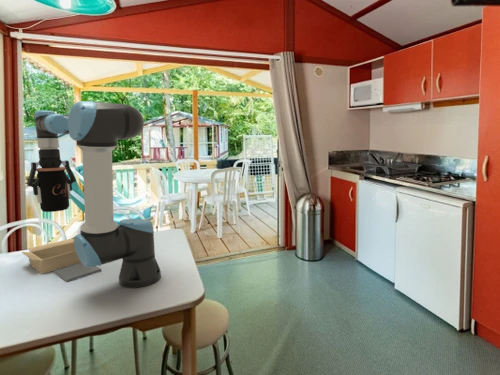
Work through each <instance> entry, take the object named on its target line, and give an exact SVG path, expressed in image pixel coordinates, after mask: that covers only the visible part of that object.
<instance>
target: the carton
mask: <svg viewBox="0 0 500 375" xmlns="http://www.w3.org/2000/svg"><path fill="white" fill-rule="evenodd" d="M21 253H22V254H23V255H25V256H26V257H27V258H28V262H29V263H28V264H29V265H30V266H31V267H33V268H34V269H35V270H37V271H38V272H39V273H40V274H46V273H49V272H51V271H52V272H54V271H56V270H59V269H63V268H66V267H70V266H73V265H77V264H80V263H82V262H81V261H80V259H79V257H78V255H77V253H76V250H75V246H74V238H69V239H64V240H60V241H56V242H55V241H54V242H51V243H46V244H42V245H39V246H34V247H29V248H28V251H27V252H25V251H21Z"/></svg>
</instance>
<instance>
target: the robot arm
mask: <svg viewBox="0 0 500 375" xmlns="http://www.w3.org/2000/svg"><path fill="white" fill-rule="evenodd" d="M144 120H145V119H144V117H143V115H142V113H141V112H140V111H139V110H138V109H137V108H136V107H134V106H132V105H130V104H125V103H114V102H101V101H93V100H87V101H86V100H85V101H83V100H82V101H81V100H80V101H77V102H75V103H74V104H73V105H72V107H71V109H70V110H69V113H68V114H62V113H56V112H55V111H54V110H53V111H52V110H35V112H34V124H35V131H36V132H35V133H36V139H37V140H36V141H37V148H39V149H38V158H39V160H38V161H37V162H34V161H33V162H30V172H29V174H28V175H29V176H28V179H27V184H26V186H28V187H31V188H32V191H33V192H32V193H33V195H34V196H36V200H37V203H38V204H40V203H42V201H41V193H40V187H38V185H39V178H37V177H36V178H35V175H36V172H37V171H36V169H37V168H39V166H40V168H44V169H46V168H60V167H61V165H62V166H63V167H65V172H66V174H67V175H68V176H67V175H66V178H67V187H68V197H69V200H71V199H72V197H71V192H72V191H73V183H76V181H77V179H76V177H75V175H74V173H73V170H72V169H71V167H70V162H69V160H62V159H61V153H60V149H59V148H60V143H59V135H61V134H63V135H69V137H70V138H71V139H72V140H73V141H76V146H77V147H78V148H79V149H80V150H81V152H82V176H83V199H84V201H83V202H84V223H83V224H81V226H80V233H78V234H76V235H74V237H73V240H74V246H75V250H76V253H77V255H78V257H79V259H80V261H81V263H82V264H83V265H84V266H86V267H94V266H97V267H99V266H102V265H105V264H108V263H112V262H115V261H119V260H122V263H121V267H120V271H119V274H118V284H119V285H120V286H121V287H123V288H124V287H125V288H131V289H133V288H143V287H147V286H150V285H152V284H155V283H157V282H158V281H160V279H161V278H162V273H161V268H160V266H159V264H158V261H157V258H156V255H155V254H156V253H155V237H154V236H155V235H154V233H155V231H154V226H153V223H152V222H151V220H148V219H144V218H142V219H141V218H127V219H126V218H125V219H121V220H119V223H118V222H116V221H115V220H114V191H113V190H114V187H113V186H114V185H113V183H114V180H113V178H114V177H113V151H114V150H115V149H116V148H117V147H118V141H119V140H130V139H133V138H136V137H137V136H139V135H140V134H142V131H143V130H144V128H145V121H144Z"/></svg>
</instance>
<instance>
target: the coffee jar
mask: <svg viewBox="0 0 500 375" xmlns="http://www.w3.org/2000/svg"><path fill="white" fill-rule="evenodd" d="M36 172H37V174H36V178H39V185H38V187H40V193H41V201H42V203H39V206H40V210H41V211H42V212H44V213H52V212H61V211H65V210H68V209H69V207H70V199H69V197H68V187H67V178H66V176H67V172H66V169H65V167H64V166H60V168H46V169H44V168H42V167H37V168H36Z"/></svg>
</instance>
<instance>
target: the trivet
mask: <svg viewBox="0 0 500 375" xmlns="http://www.w3.org/2000/svg"><path fill="white" fill-rule="evenodd" d="M100 272H102V268H100V267H99V266H94V267H86V266H84V265H83V264H82V262H81V263H77V264H74V265H70V266H67V267H63V268H60V269H56V270H53V273H54V275H56V276H58V277H59V278H61V280H63V281H64V282H66V283H70V282H72V281H76V280H78V279H81V278H85V277H87V276H90V275H93V274H97V273H100Z"/></svg>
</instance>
